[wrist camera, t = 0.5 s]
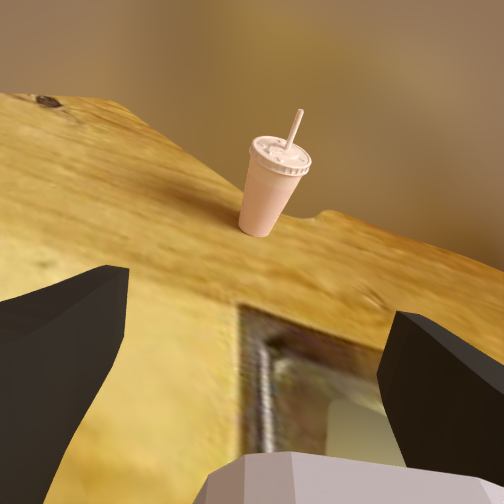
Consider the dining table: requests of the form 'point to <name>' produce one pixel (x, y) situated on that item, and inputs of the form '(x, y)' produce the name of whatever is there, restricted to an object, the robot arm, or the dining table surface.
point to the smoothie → (271, 180)
